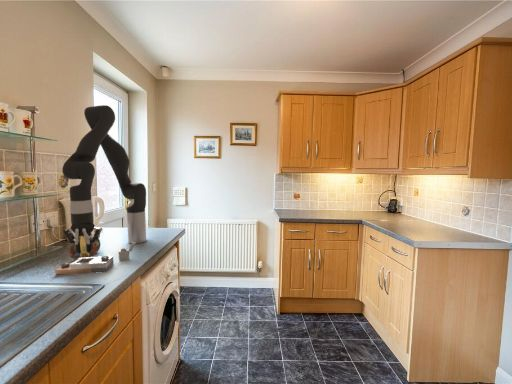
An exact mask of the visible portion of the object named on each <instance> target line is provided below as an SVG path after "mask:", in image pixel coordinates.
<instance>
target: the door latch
mask: <svg viewBox="0 0 512 384" xmlns="http://www.w3.org/2000/svg"><path fill="white" fill-rule="evenodd" d="M114 265H115V263H114V256H113V255H103V256H88V257H84V258H79V259H75V261H73V262H63V263H61V266H60V267H58V268H57V269H55V270H54V271H55V275H56V274H66V275H81V273H84V274H97V273H96V272H102V273H107V272H108V271H109V270H110V269H111V268H112V267H113V266H114Z"/></svg>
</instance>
